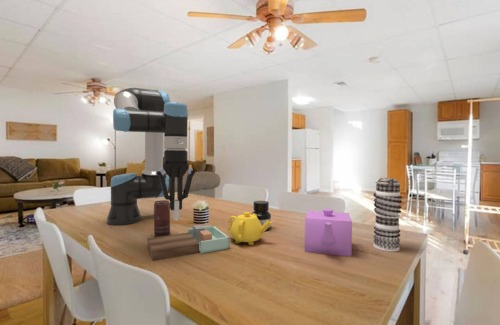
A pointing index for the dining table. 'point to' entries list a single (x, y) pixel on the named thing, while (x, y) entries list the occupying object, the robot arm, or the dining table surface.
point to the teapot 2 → (328, 232)
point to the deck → (172, 246)
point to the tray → (213, 240)
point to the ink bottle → (262, 212)
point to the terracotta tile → (205, 235)
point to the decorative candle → (387, 214)
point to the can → (161, 218)
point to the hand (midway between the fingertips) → (176, 219)
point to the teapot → (247, 228)
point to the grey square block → (197, 232)
